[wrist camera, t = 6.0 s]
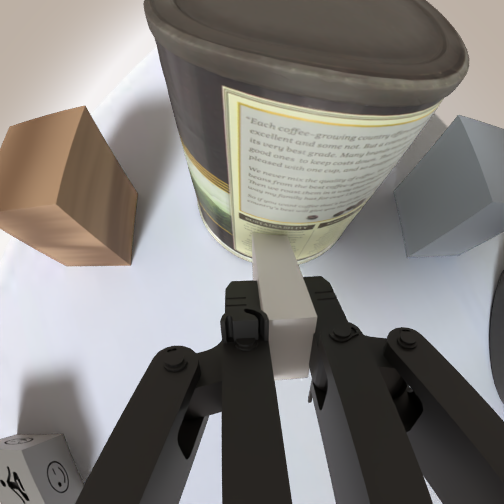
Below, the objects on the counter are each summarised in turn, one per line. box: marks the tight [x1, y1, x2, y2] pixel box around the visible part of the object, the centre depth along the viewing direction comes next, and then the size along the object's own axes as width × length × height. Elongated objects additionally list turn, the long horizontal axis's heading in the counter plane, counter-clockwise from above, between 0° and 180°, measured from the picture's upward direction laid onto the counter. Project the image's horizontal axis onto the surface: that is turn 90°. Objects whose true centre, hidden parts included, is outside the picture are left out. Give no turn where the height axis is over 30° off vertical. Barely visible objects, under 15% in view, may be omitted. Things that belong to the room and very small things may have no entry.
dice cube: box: [0, 434, 84, 504], centre depth 11 cm, size 5×5×5 cm
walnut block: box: [0, 106, 138, 266], centre depth 15 cm, size 5×5×9 cm
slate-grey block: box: [394, 115, 504, 258], centre depth 15 cm, size 5×5×9 cm
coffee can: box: [144, 0, 469, 264], centre depth 13 cm, size 10×10×14 cm
